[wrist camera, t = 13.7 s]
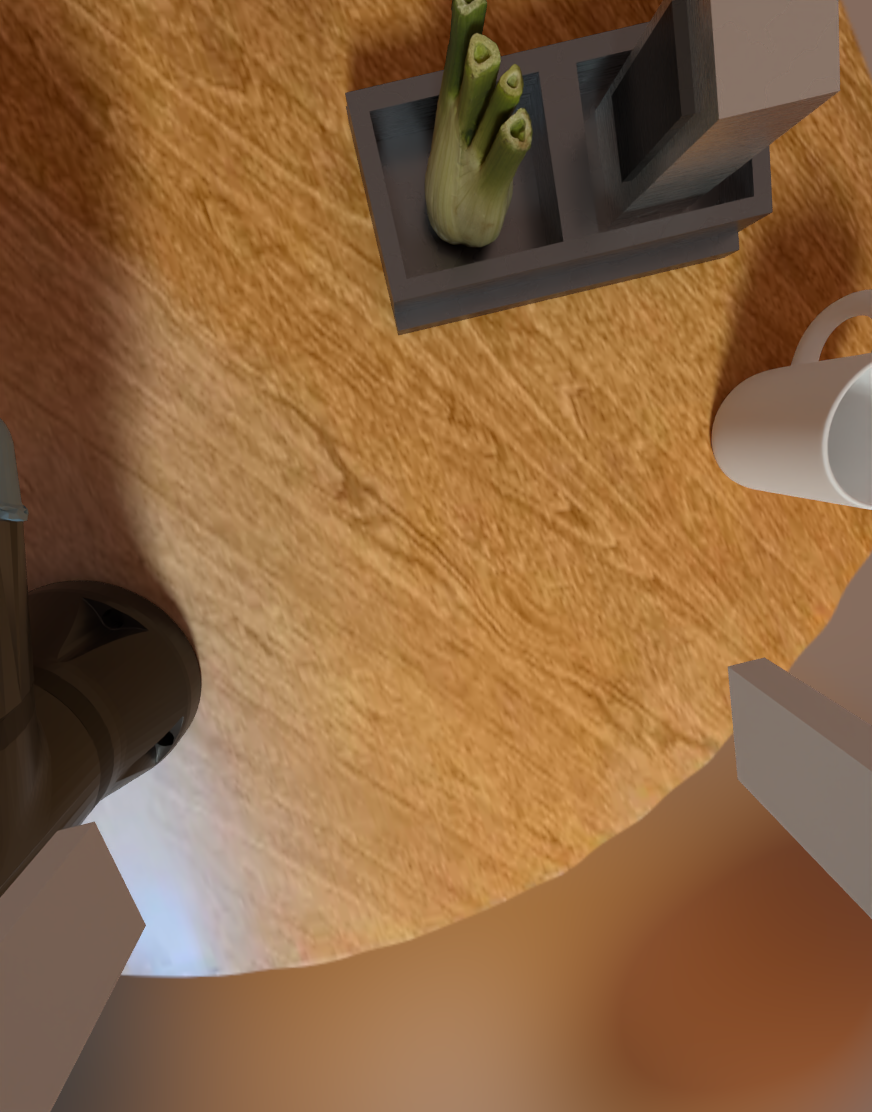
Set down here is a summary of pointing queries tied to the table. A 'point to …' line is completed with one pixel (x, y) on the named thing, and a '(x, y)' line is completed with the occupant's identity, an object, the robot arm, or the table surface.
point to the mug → (804, 420)
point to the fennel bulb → (474, 135)
